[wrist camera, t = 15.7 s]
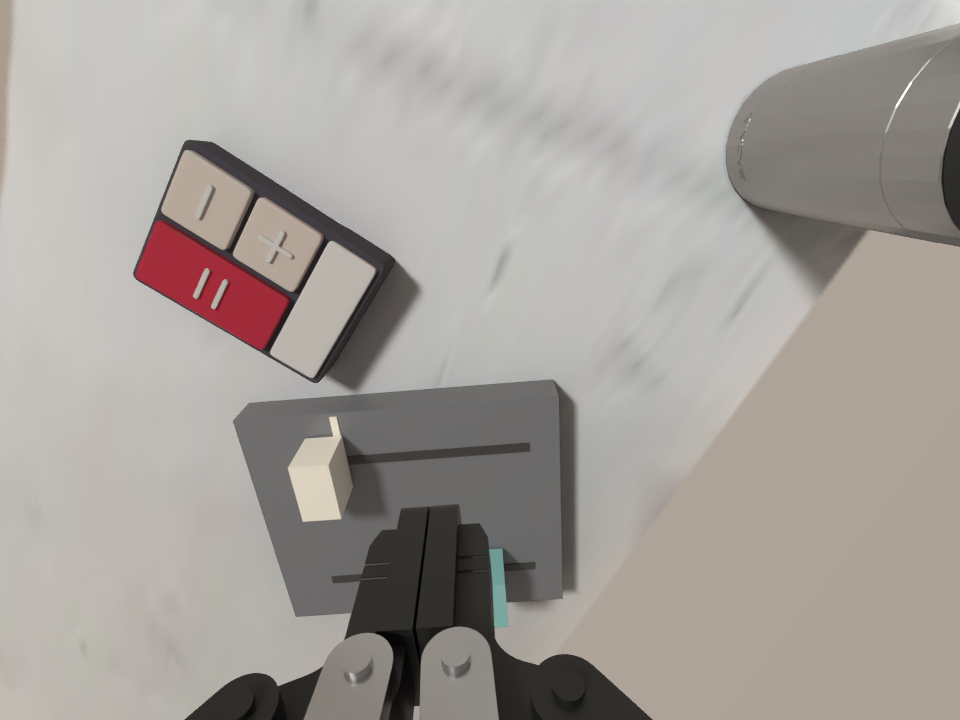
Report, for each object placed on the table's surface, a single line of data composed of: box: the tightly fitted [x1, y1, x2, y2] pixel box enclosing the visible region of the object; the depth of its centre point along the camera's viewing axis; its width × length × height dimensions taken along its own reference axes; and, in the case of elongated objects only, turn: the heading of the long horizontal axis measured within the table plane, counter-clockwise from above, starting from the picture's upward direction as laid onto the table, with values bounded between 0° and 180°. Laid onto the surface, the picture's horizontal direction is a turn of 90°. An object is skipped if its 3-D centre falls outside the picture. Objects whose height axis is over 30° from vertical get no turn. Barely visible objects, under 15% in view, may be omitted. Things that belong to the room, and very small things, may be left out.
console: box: [233, 380, 563, 617], centre depth 44 cm, size 26×22×3 cm
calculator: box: [133, 140, 394, 383], centre depth 36 cm, size 11×4×15 cm
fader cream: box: [288, 436, 353, 522], centre depth 38 cm, size 3×5×4 cm, turn 5°
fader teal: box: [489, 549, 508, 628], centre depth 43 cm, size 3×5×4 cm, turn 5°
